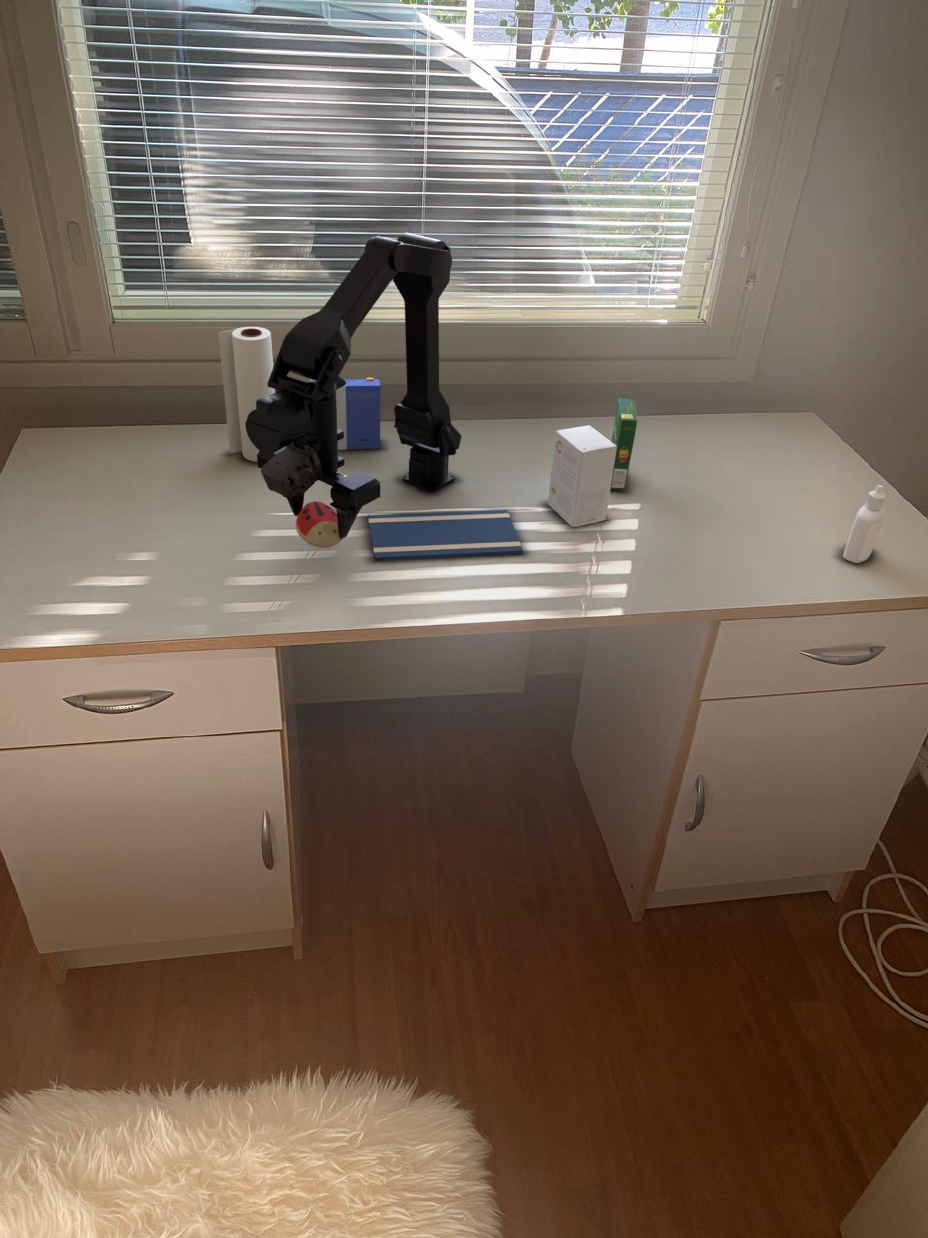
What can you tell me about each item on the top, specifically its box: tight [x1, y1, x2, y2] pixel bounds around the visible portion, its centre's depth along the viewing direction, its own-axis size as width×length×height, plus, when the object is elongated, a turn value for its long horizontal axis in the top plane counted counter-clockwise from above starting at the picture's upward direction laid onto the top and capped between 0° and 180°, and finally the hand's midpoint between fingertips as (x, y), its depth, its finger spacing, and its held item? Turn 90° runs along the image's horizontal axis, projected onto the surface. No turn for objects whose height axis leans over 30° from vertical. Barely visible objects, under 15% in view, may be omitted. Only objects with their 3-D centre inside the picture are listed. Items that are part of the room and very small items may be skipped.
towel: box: [367, 509, 524, 562], centre depth 147 cm, size 22×12×1 cm, turn 100°
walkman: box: [336, 377, 381, 451], centre depth 166 cm, size 8×3×12 cm, turn 99°
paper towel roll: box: [217, 326, 276, 462], centre depth 159 cm, size 7×6×21 cm
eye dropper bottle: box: [842, 484, 887, 564], centre depth 145 cm, size 4×6×12 cm
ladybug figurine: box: [295, 501, 343, 549], centre depth 138 cm, size 7×10×4 cm
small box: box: [547, 425, 617, 528], centre depth 151 cm, size 8×6×13 cm
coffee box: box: [610, 398, 639, 492], centre depth 161 cm, size 8×3×13 cm, turn 176°
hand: (320, 525), depth 139 cm, fingers closed on ladybug figurine, 9 cm apart
